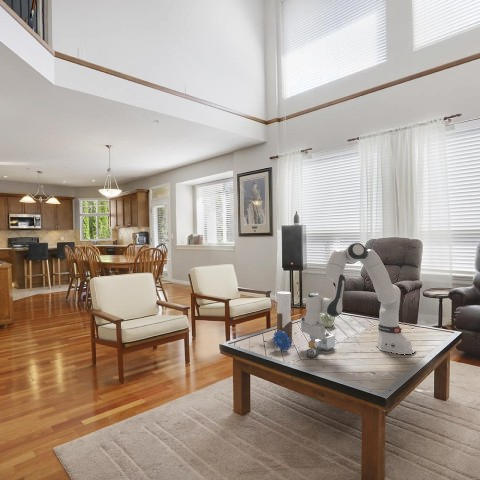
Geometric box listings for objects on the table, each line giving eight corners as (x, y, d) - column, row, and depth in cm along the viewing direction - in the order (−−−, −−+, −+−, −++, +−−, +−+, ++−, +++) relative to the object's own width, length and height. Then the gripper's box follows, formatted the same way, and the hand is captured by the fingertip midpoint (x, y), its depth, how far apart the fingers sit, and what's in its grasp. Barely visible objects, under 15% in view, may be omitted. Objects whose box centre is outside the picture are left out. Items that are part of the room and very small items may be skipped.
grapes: (270, 351, 211) (270, 331, 211) (274, 347, 217) (274, 328, 217) (289, 353, 206) (289, 333, 206) (292, 350, 213) (292, 330, 212)
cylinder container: (287, 337, 240) (287, 293, 240) (274, 334, 245) (275, 292, 245) (292, 333, 248) (292, 291, 248) (280, 331, 253) (280, 290, 253)
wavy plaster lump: (330, 336, 266) (332, 320, 258) (314, 329, 272) (316, 314, 265) (339, 322, 279) (341, 307, 271) (323, 316, 285) (325, 301, 277)
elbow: (323, 343, 223) (323, 332, 223) (334, 346, 217) (335, 335, 217) (305, 349, 211) (305, 338, 211) (316, 353, 204) (317, 341, 204)
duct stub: (310, 354, 206) (310, 345, 206) (318, 356, 203) (318, 347, 203) (305, 357, 201) (305, 348, 201) (313, 358, 198) (313, 350, 198)
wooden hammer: (289, 344, 225) (289, 316, 225) (275, 340, 232) (275, 313, 232) (292, 342, 228) (292, 315, 227) (278, 339, 235) (278, 312, 235)
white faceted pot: (336, 348, 216) (337, 334, 216) (326, 352, 210) (326, 337, 210) (323, 344, 224) (323, 330, 224) (313, 347, 218) (313, 333, 218)
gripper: (328, 323, 204) (327, 347, 204) (307, 315, 223) (307, 337, 223) (319, 324, 201) (318, 348, 202) (299, 316, 220) (299, 338, 221)
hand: (312, 342), depth 213 cm, fingers closed
